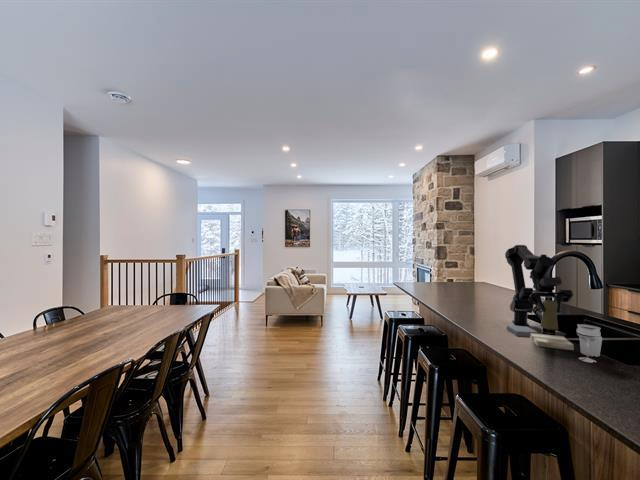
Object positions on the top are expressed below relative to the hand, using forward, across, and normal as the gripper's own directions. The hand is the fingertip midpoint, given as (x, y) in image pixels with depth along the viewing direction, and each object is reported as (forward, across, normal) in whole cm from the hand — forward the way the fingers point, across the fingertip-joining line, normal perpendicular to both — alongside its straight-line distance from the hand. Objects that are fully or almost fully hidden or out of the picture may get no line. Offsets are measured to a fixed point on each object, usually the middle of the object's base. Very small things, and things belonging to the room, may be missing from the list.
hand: (551, 312), depth 136 cm
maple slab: (+8, +1, +10) cm, 13 cm away
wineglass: (+20, +5, -2) cm, 21 cm away
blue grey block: (0, -5, +20) cm, 21 cm away
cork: (+4, 0, +6) cm, 7 cm away
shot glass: (+15, +10, +4) cm, 19 cm away
